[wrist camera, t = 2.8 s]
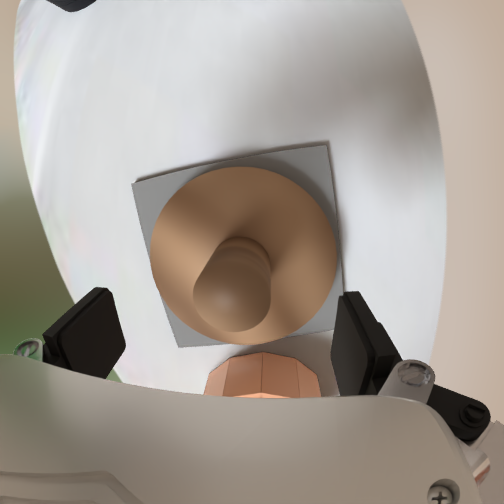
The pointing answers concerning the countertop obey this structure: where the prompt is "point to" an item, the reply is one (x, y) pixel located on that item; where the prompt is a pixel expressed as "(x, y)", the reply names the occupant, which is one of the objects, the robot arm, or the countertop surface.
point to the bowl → (262, 378)
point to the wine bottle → (72, 4)
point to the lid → (243, 255)
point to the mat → (281, 162)
